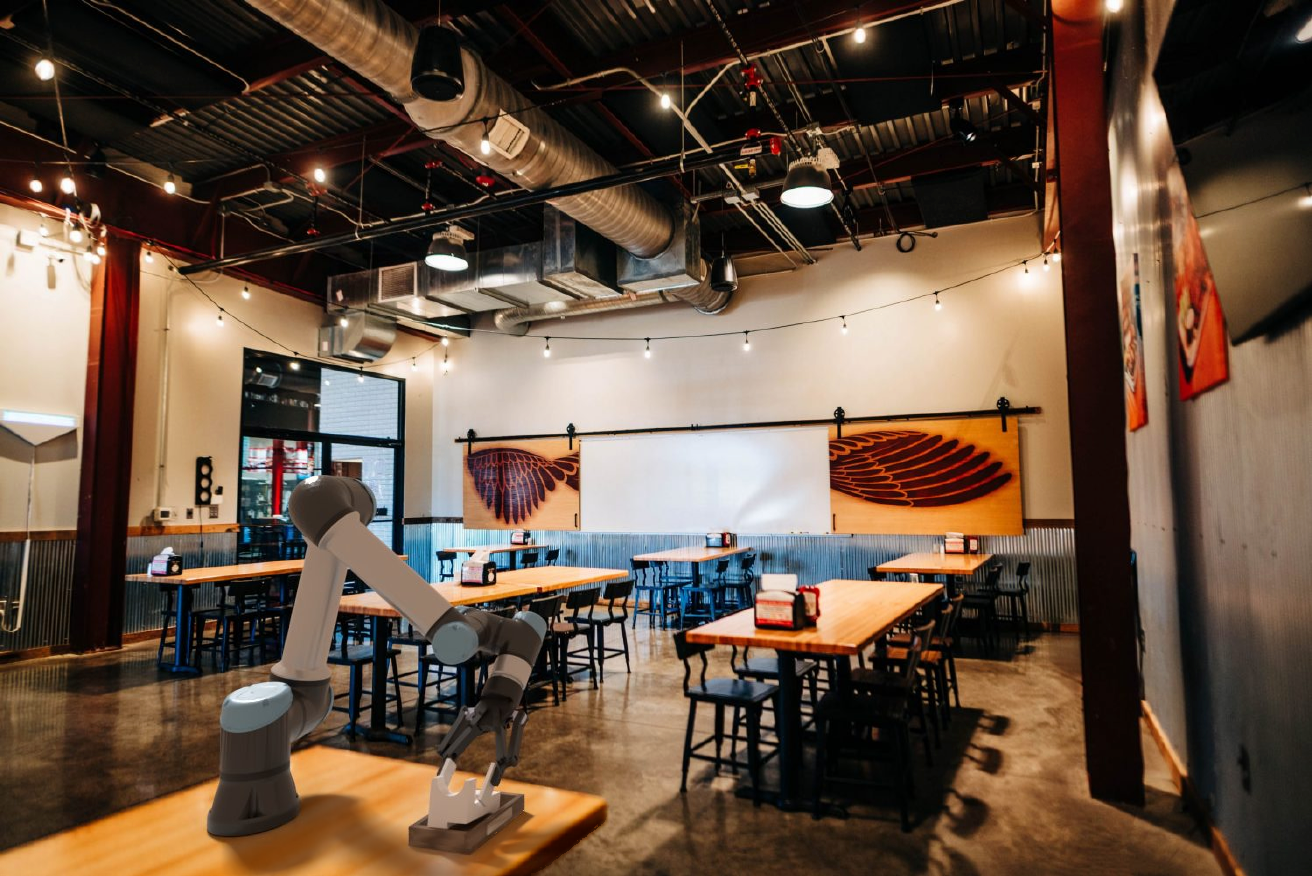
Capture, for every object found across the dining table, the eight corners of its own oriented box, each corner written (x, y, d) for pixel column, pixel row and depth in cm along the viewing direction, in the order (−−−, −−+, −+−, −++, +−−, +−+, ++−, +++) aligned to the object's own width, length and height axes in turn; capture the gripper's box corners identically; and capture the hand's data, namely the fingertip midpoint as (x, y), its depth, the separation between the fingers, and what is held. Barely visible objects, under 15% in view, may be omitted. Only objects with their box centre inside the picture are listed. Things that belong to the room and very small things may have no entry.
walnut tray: (408, 845, 125) (408, 826, 125) (468, 804, 142) (468, 787, 142) (471, 854, 121) (471, 835, 121) (525, 811, 138) (525, 794, 138)
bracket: (465, 830, 123) (469, 781, 125) (427, 827, 125) (431, 778, 127) (499, 812, 135) (502, 768, 137) (463, 810, 137) (467, 765, 139)
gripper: (561, 698, 144) (520, 817, 128) (466, 692, 151) (417, 804, 135) (548, 676, 140) (504, 796, 123) (451, 671, 147) (398, 784, 130)
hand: (459, 800), depth 129 cm, fingers open, 8 cm apart
